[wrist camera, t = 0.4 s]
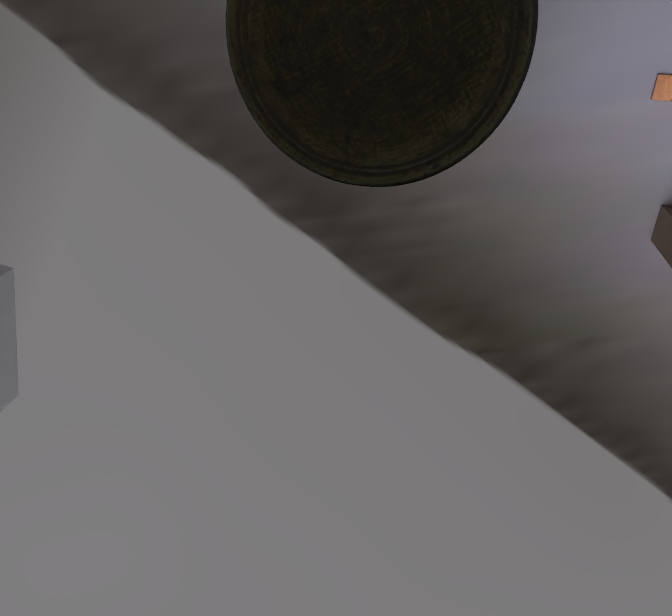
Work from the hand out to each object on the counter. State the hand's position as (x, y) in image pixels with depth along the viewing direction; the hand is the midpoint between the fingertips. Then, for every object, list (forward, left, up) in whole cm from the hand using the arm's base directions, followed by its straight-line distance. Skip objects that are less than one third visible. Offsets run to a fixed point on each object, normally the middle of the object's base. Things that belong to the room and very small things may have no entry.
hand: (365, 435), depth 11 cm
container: (-6, -2, -27) cm, 28 cm away
